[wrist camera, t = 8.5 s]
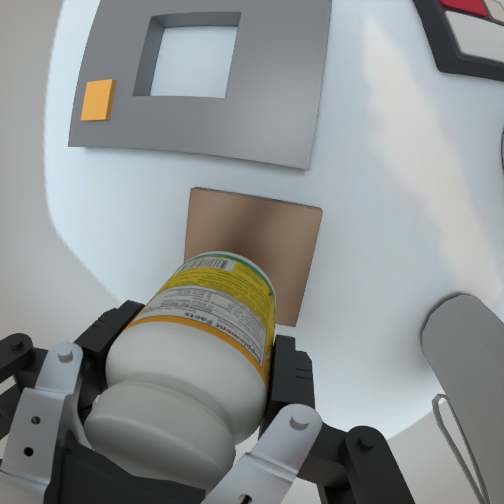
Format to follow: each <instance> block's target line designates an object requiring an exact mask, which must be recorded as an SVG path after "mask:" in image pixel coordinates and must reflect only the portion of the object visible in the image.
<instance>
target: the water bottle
mask: <svg viewBox="0 0 504 504" xmlns="http://www.w3.org/2000/svg"><path fill="white" fill-rule="evenodd" d="M422 351H423V353H424V355H425V356H426V358H427V360H428V362H429V363H430V365H431V367H432V369H433V371H434V373H435V374H436V376H437V378H438V380H439V382H440V384H441V386H442V388H443V390H444V392H445V394H446V395H443V394H437V395H436V396H435V398H434V399H433V400H432V406H433V412H434V415H435V418H436V421H437V424H438V426H439V428H440V430H441V431H442V433H443V435H444V437H445V438H446V440H447V442H448V444H449V446H450V447H451V449H452V451H453V453H454V455H455V456H456V458H457V460H458V462H459V464H460V466H461V467H462V470H463V471H464V473H465V475H466V477H467V479H468V481H469V483H470V485H471V487H472V489H473V491H474V493H475V495H476V497H477V499H478V501H479V503H480V504H504V323H503V322H502V321H501V320H500V319H499V318H498V317H497V316H496V315H495V314H494V313H493V312H492V311H491V310H490V309H489V308H488V307H486V306H485V305H484V304H483V303H482V302H481V301H480V300H479V299H478V298H477V297H473V296H469V295H465V294H462V295H459V296H457V297H454V298H452V299H449V300H447V301H445V302H444V303H443V304H442V305H441V306H439V307H438V308H437V309H436V310H435V311H434V312H433V313H432V314H431V315H430V317H429V319H428V321H427V323H426V326H425V328H424V330H423V332H422ZM441 397H443V398H445V399H446V400H447V402H448V405H449V407H450V409H451V411H452V414H453V416H454V418H455V420H456V423H457V425H458V427H459V430H460V432H461V435H462V437H463V440H464V442H465V445H466V447H467V450H468V453H469V456H470V458H471V461H472V463H473V467H474V470H475V472H476V475H477V478H478V481H479V484H480V488H481V491H482V494H483V497H482V495H481V493H480V491H479V489H478V487H477V485H476V483H475V481H474V480H473V477H472V475H471V473H470V471H469V470H468V467H467V465H466V464H465V462H464V460H463V458H462V456H461V454H460V453H459V451H458V449H457V447H456V445H455V444H454V442H453V440H452V438H451V436H450V435H449V433H448V431H447V429H446V428H445V426H444V424H443V421H442V418H441V415H440V412H439V405H438V401H439V400H440V399H441ZM488 495H489V496H488ZM483 498H484V499H483ZM489 498H490V499H489ZM490 501H491V503H490Z"/></svg>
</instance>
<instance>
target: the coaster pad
mask: <svg viewBox="0 0 504 504" xmlns="http://www.w3.org/2000/svg"><path fill="white" fill-rule="evenodd" d="M321 216H322V209H321V208H318V207H313V206H308V205H302V204H297V203H292V202H286V201H281V200H275V199H270V198H264V197H258V196H252V195H246V194H240V193H233V192H227V191H220V190H213V189H206V188H199V187H195V188H191V190H190V199H189V209H188V219H187V230H186V242H185V254H184V263H185V262H187V261H188V260H189V259H191V258H193V257H195V256H197V255H199V254H202V253H206V252H213V251H224V252H230V253H234V254H237V255H240V256H243V257H245V258H247V259H249V260H250V261H252V262H253V263H254V264H256V265H257V266H258V267H259V268H260V269H261V270H262V271H263V272H264V273H265V274H266V275H267V277H268V278H269V280H270V282H271V283H272V286H273V288H274V292H275V298H276V319H275V324H280V325H286V326H292V327H295V326H296V323H297V319H298V315H299V311H300V307H301V303H302V299H303V295H304V291H305V287H306V283H307V279H308V275H309V271H310V266H311V262H312V258H313V253H314V249H315V244H316V240H317V235H318V231H319V226H320V221H321Z"/></svg>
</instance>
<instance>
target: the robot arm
mask: <svg viewBox="0 0 504 504" xmlns="http://www.w3.org/2000/svg"><path fill="white" fill-rule="evenodd" d="M502 153H503V164H504V136H503V149H502ZM144 307H145V305H144V304H141V303H138V302H134V301H130V300H127V301H126V302H125V303H124V304H123V305H122V306H120V307H119V308H118V309H117V308H113V309H111V310H109V311H107V312H104V313H103V314H102V315H101V316H100V317H99V318H98V320H96V321H95V322H94V323H93V324H92V326H90V327H89V328H88V329H87V330H86V331H85V332H84V333H82V334H81V335H80V337H78V338H77V339H76V340H75V341H74V342H73V343H71V342H62V343H58V344H56V345H54V346H52V347H51V348H50V349H49V350H45V349H39V348H34V346H33V343H32V340H31V338H30V337H29V336H28V335H26V334H22V333H16V334H12V335H10V336H8V337H6V338H5V339H3V340H1V341H0V383H2V382H3V381H5V380H6V379H8V378H9V377H11V376H13V378H14V380H15V383H16V384H15V385H14V386H12V387H11V388H9V389H8V390H7V391H5V392H4V393H3V394H1V395H0V440H1V439H2V438H3V437H5V436H6V435H7V434H8V433H9V436H8V439H7V443H6V447H5V452H4V456H3V459H0V504H280V503H281V502H282V500H283V498H284V497H285V495H286V493H287V492H288V490H289V488H290V487H291V485H292V483H293V482H294V480H295V478H296V477H298V478H301V479H304V480H307V481H310V482H312V483H316V484H317V488H318V492H319V496H320V500H321V504H415V502H414V500H413V497H412V495H411V493H410V491H409V488H408V486H407V484H406V482H405V480H404V478H403V475H402V473H401V471H400V469H399V467H398V465H397V462H396V460H395V458H394V456H393V454H392V452H391V450H390V448H389V446H388V444H387V441H386V439H385V438H384V436H383V435H382V434H381V433H380V432H379V431H378V430H376V429H374V428H372V427H369V426H357V427H354V428H352V429H351V430H350V431H349V432H345V431H342V430H339V429H336V428H333V427H330V426H328V425H327V424H325V423H324V422H323V421H322V419H321V417H320V415H319V414H318V412H317V411H316V410H315V398H314V384H313V372H312V361H311V359H310V358H309V356H308V355H307V353H306V352H303V351H296V350H295V337H289V336H283V335H276V337H275V341H274V345H273V353H272V363H271V372H270V382H269V390H268V399H267V406H266V410H265V414H264V417H263V420H262V422H261V423H260V429H259V436H258V442H257V443H256V445H255V446H254V447H253V448H252V450H251V451H250V452H249V453H247V452H246V453H245V454H243V455H242V456H241V458H240V459H239V460H238V461H237V462H236V464H235V465H234V466H233V467H232V468H231V470H230V471H229V472H228V473H227V474H226V475H225V477H224V478H223V479H222V480H221V481H220V482H219V484H218V485H217V486H216V487H215V488H214V489H213V490H212V491H211V493H210V494H209V495H208V496H207V497H205V496H206V490H205V489H201V488H197V487H193V486H189V485H185V484H181V483H178V482H174V481H171V480H161V479H153V478H145V477H138V476H134V475H131V474H130V473H128V472H127V471H125V470H124V469H122V468H121V467H119V466H118V465H117V464H115V463H114V462H112V461H111V460H110V459H108V458H107V457H106V456H104V455H102V454H100V453H98V452H96V451H94V450H93V448H92V447H91V445H90V444H89V442H88V440H87V439H86V436H85V434H84V423H85V420H86V419H87V417H88V415H89V414H90V412H91V411H92V409H93V408H94V406H95V405H96V402H95V399H96V397H97V396H98V395H101V394H102V393H103V392H104V391H105V390H107V389H109V388H108V385H107V380H106V373H105V368H106V360H107V356H108V353H109V350H110V348H111V346H112V344H113V343H114V341H115V340H116V339H117V338H118V336H119V335H120V334H121V333H122V332H123V330H124V329H125V328H126V327H127V326H128V325H129V324H130V322H131V321H132V320H133V319H134V318H135V317H136V316H137V315H138V314H139V312H140V311H141V310H142V309H143V308H144Z"/></svg>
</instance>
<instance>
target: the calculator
mask: <svg viewBox="0 0 504 504" xmlns="http://www.w3.org/2000/svg"><path fill="white" fill-rule="evenodd" d="M413 1H414V3H415V5H416V7H417V9H418V11H419V14H420V16H421V18H422V21H423V27H424V30H425V32H426V35H427V38H428V41H429V44H430V47H431V50H432V53H433V56H434V59H435V63H436V66H437V68H438V70H439V71H441V72H445V73H454V74H462V75H469V76H476V77H482V78H488V79H493V80H498V81H503V82H504V0H413Z"/></svg>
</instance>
